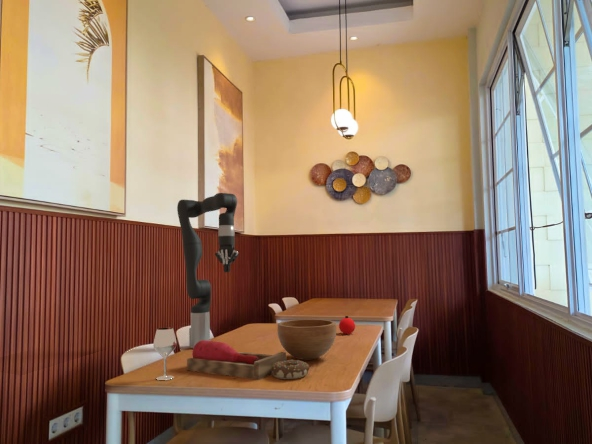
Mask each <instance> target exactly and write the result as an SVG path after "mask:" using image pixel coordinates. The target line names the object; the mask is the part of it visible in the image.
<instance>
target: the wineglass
mask: <svg viewBox="0 0 592 444" xmlns="http://www.w3.org/2000/svg"><path fill="white" fill-rule="evenodd" d="M175 333H176V332H175V330H174V327H170V326H169V327H159V328H157V329H156V331H155V335H154V339H153V348H154V350H155V351H156V353H158V354H159V355H160V356H162V358H163V375H160V376H157V377H156V379H157V380H156V379H155V380H156V381H159V380H165V381H171V380H173V379H174V378H175V376H173V375H167V359H168V356H170V355H171V354H172V353H173V352H174V350H175V349H176V347H177V344H178V343H177V342H178V341H177V339H176V338H177V337H176V334H175ZM172 378H173V379H172ZM170 379H171V380H170Z"/></svg>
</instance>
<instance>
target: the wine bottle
mask: <svg viewBox="0 0 592 444" xmlns="http://www.w3.org/2000/svg"><path fill="white" fill-rule="evenodd" d="M238 352H239V351H236V350H235V349H234V348H233V346H230V345H229V344H227V343H225V342H221V341H216V340H215V341H214V340H210V341H207V340H202V341H199V342H198V343H196V345H195V346H194V348H192V358H197V359H206V360H215V361H224V362H233V363H239V362H244V363H246V364H252V365H254V362H255V361H258V358H257V357H256V356H252V355H247V356H246V355H242V354H239V353H238Z"/></svg>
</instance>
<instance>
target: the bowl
mask: <svg viewBox="0 0 592 444" xmlns="http://www.w3.org/2000/svg"><path fill="white" fill-rule="evenodd" d="M277 336H278V337H277V338H278V339H279V343H280V345H281V346H282V349H284V351H285V352H286V353H287V354H289V355H291V356H292V357H294V358H295V359H299V360H302V361H303V360H306V361H310V360H316V359H319V358H321V357H322V356H323V355H325V354H326V353H328V351H329V350H330V349H331V348H332V346H333V345H334V343H335V340H336V336H337V324H336V321H334V320H329V319H317V318H306V319H304V318H303V319H291V320H290V319H289V320H285V321H280V322H278V324H277Z"/></svg>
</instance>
